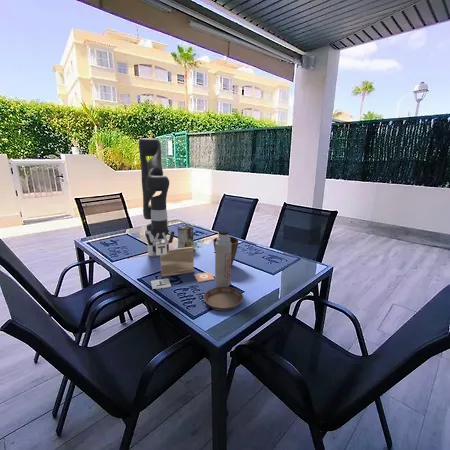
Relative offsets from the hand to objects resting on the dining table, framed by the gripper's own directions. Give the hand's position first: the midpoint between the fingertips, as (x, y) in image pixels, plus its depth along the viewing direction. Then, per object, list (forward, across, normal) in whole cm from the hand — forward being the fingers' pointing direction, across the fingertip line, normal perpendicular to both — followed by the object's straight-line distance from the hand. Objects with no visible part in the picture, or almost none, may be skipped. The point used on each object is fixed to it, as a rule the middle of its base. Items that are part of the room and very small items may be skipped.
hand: (160, 251), depth 128 cm
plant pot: (+18, -39, -10) cm, 44 cm away
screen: (+17, -10, -11) cm, 23 cm away
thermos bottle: (+18, -29, +10) cm, 36 cm away
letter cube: (0, 0, 0) cm, 0 cm away
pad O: (+18, -22, 0) cm, 28 cm away
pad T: (+18, +1, 0) cm, 18 cm away
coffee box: (+18, -24, -45) cm, 54 cm away
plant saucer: (+18, -23, +26) cm, 39 cm away
